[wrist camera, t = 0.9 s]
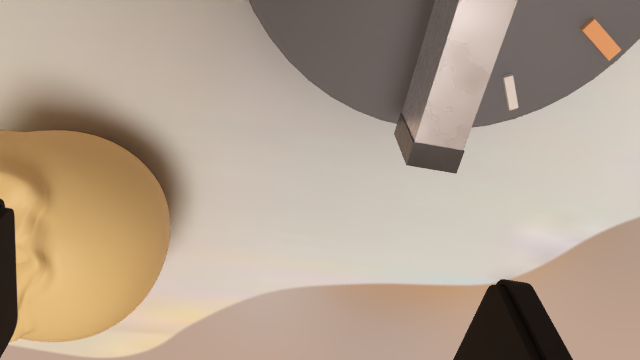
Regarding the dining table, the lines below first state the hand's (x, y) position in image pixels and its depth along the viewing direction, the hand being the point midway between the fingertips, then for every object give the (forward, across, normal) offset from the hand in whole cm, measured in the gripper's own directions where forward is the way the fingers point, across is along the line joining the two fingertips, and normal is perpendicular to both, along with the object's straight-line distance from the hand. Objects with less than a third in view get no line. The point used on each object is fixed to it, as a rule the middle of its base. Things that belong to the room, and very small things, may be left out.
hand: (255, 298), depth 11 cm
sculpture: (+23, +10, +14) cm, 29 cm away
